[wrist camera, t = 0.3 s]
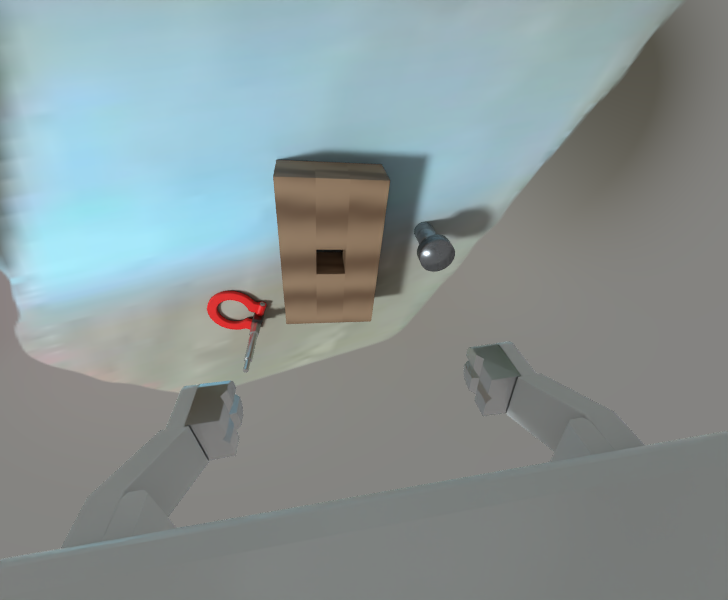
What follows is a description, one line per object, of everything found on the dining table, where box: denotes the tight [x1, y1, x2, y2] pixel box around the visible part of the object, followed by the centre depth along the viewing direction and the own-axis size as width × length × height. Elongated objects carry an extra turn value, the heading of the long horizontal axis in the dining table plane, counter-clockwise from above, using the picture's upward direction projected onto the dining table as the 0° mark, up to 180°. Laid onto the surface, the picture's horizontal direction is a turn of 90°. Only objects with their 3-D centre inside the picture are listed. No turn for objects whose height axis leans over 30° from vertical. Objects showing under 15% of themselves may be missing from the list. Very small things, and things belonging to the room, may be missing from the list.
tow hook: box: [207, 291, 267, 372], centre depth 54 cm, size 8×13×9 cm
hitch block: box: [273, 160, 390, 324], centre depth 50 cm, size 24×14×6 cm, turn 175°
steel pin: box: [414, 222, 455, 271], centre depth 50 cm, size 5×5×8 cm
